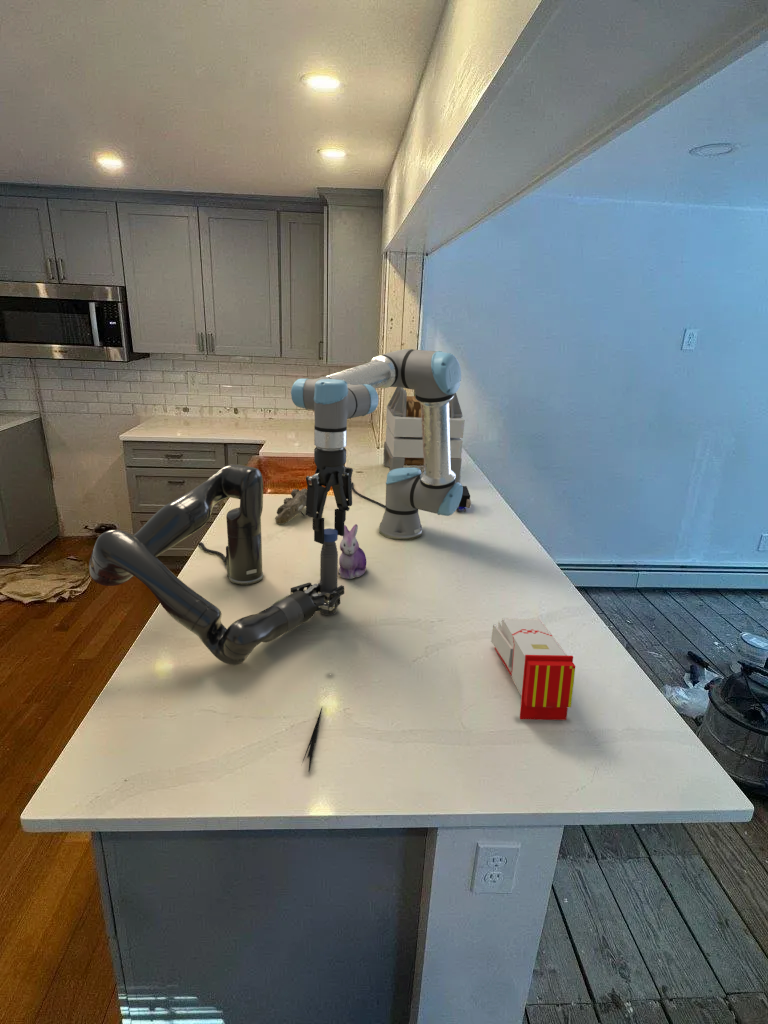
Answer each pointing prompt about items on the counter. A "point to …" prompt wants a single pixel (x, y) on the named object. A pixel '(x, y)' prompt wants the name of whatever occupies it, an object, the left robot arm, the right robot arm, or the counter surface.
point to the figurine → (351, 555)
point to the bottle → (328, 570)
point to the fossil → (292, 506)
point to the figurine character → (464, 499)
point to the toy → (535, 667)
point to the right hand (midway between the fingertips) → (329, 538)
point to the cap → (330, 535)
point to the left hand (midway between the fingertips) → (335, 586)
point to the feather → (313, 740)
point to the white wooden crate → (417, 433)
